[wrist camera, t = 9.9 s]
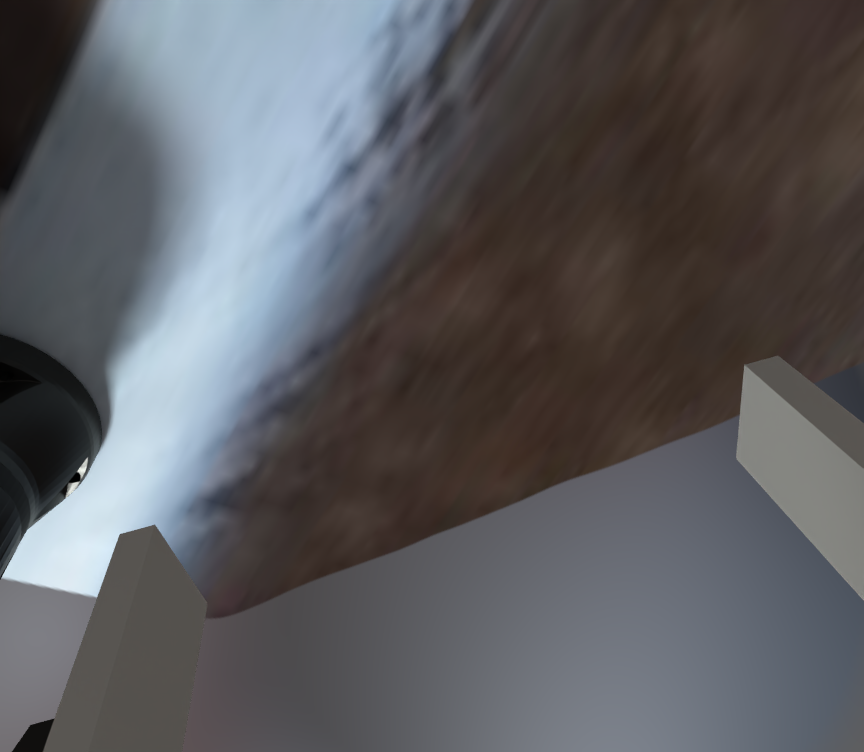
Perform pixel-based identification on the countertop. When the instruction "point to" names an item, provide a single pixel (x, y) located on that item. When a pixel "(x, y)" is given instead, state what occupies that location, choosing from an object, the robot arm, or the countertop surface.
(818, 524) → the robot arm
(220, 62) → the countertop surface
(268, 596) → the countertop surface
